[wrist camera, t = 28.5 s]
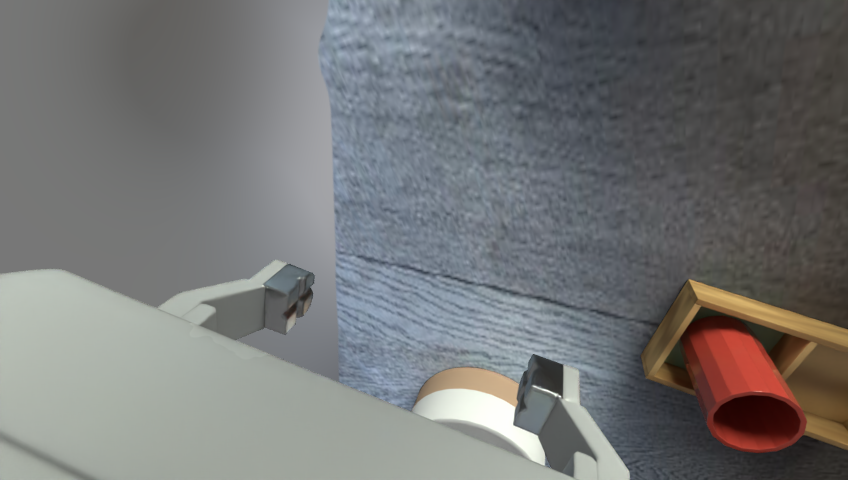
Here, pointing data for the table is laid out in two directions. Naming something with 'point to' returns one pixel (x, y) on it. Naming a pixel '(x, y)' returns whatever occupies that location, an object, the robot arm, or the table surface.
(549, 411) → the robot arm
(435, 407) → the bowl
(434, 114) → the table surface
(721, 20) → the table surface
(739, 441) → the cup
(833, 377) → the caddy
